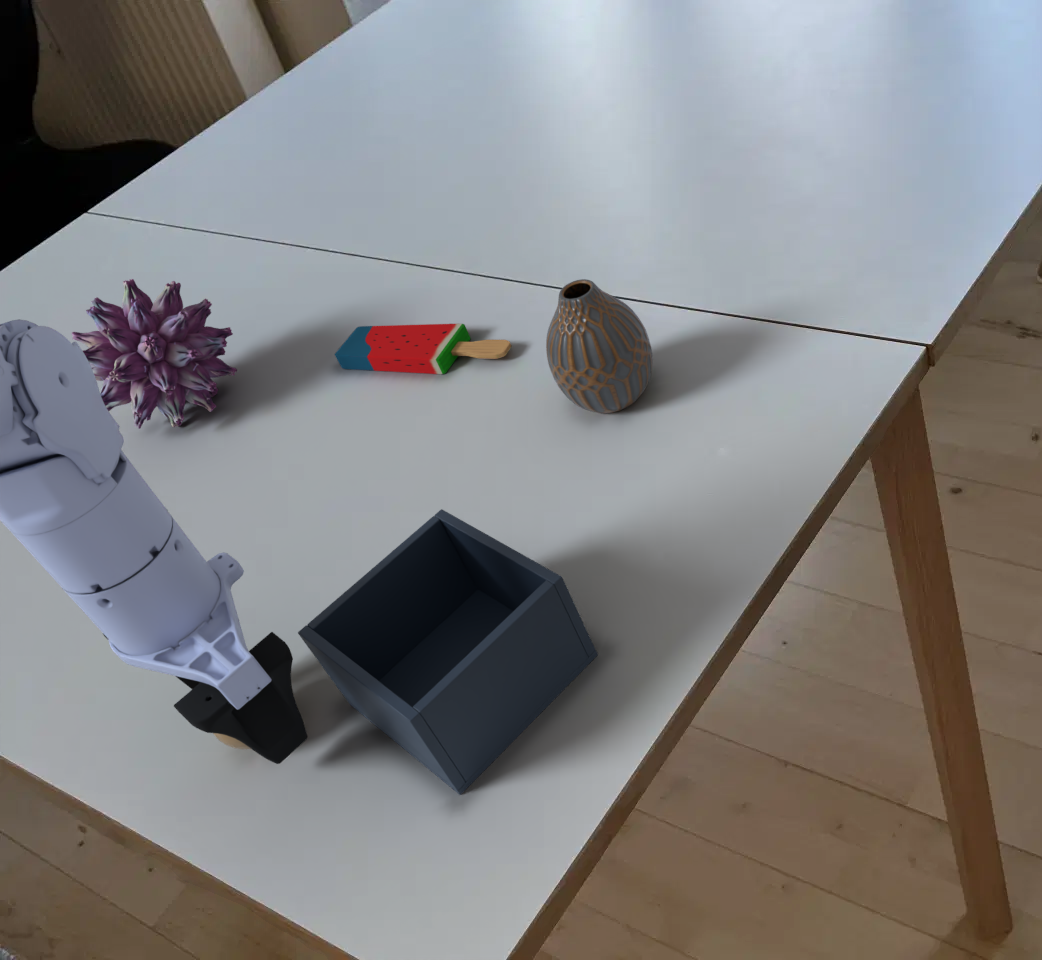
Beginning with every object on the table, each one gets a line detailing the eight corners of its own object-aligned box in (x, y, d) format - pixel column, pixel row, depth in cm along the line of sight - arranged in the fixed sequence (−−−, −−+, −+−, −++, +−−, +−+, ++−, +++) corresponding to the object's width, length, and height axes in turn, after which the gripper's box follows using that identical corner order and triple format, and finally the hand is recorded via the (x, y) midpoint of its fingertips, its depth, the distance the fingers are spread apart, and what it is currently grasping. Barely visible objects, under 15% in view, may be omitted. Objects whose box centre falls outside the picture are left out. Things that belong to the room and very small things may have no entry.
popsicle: (491, 360, 81) (330, 357, 87) (498, 376, 82) (338, 372, 88) (517, 322, 84) (359, 323, 90) (523, 338, 84) (367, 337, 91)
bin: (460, 795, 55) (410, 721, 51) (349, 704, 62) (297, 632, 57) (598, 654, 59) (562, 576, 55) (481, 583, 66) (441, 508, 62)
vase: (676, 364, 77) (644, 257, 71) (641, 430, 72) (604, 322, 67) (589, 362, 80) (551, 259, 74) (550, 425, 75) (507, 321, 70)
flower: (269, 428, 88) (112, 478, 84) (237, 360, 96) (93, 402, 92) (227, 299, 80) (53, 347, 76) (196, 238, 89) (39, 278, 85)
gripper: (259, 548, 49) (384, 724, 58) (125, 450, 58) (250, 615, 67) (123, 658, 46) (277, 825, 55) (4, 536, 55) (152, 696, 64)
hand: (255, 716), depth 61 cm, fingers open, 7 cm apart
